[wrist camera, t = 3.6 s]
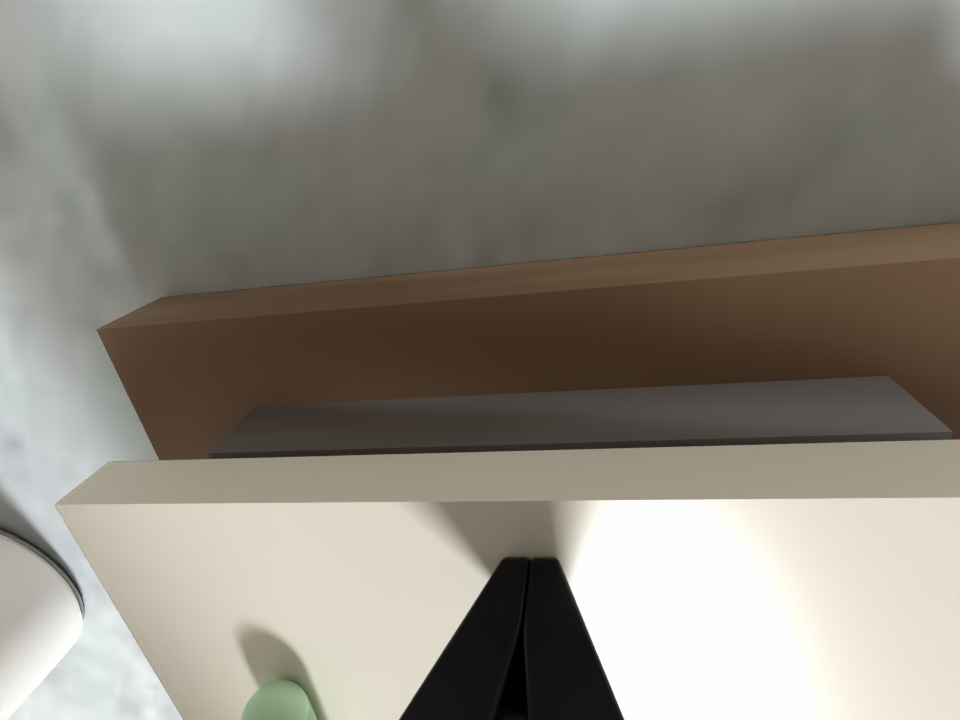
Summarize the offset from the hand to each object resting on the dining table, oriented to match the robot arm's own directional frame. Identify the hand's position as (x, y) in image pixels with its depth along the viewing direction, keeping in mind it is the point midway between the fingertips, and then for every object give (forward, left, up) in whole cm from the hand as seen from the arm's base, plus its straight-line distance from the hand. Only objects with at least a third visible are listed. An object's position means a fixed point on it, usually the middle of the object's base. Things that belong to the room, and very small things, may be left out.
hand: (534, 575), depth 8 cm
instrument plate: (-6, 0, -1) cm, 6 cm away
